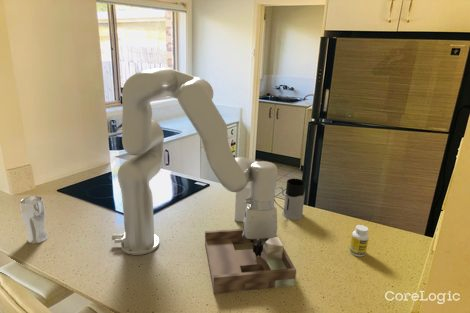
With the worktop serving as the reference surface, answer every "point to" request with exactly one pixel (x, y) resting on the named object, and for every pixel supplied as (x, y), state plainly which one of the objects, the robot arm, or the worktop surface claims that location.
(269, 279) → the box
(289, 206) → the white and black mug
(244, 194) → the milk carton
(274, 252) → the block
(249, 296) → the worktop surface
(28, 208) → the beer glass
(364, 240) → the supplement bottle
